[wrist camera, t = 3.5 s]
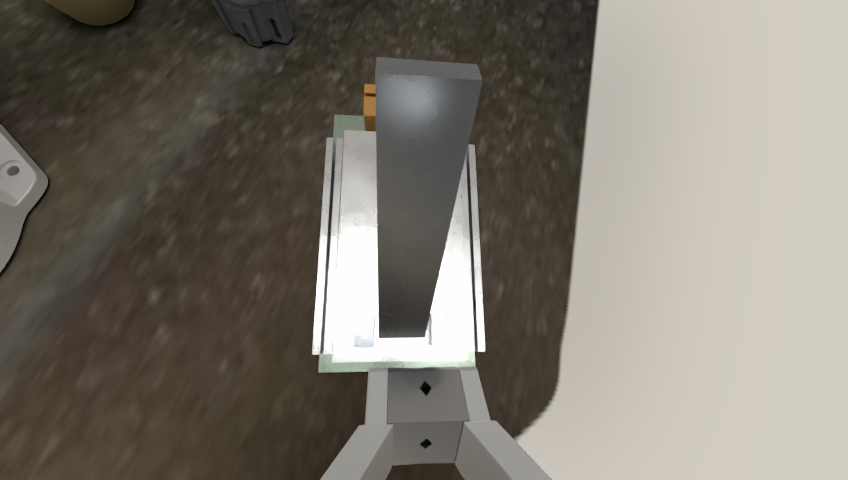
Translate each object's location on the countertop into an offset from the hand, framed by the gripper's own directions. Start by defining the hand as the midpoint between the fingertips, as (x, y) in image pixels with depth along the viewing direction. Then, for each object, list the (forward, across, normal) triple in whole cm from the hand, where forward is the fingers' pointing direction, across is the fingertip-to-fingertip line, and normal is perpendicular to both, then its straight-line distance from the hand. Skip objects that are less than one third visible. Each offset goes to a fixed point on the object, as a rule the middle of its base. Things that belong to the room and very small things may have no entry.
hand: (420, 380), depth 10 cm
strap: (+8, 0, 0) cm, 8 cm away
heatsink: (+20, 0, +7) cm, 21 cm away
